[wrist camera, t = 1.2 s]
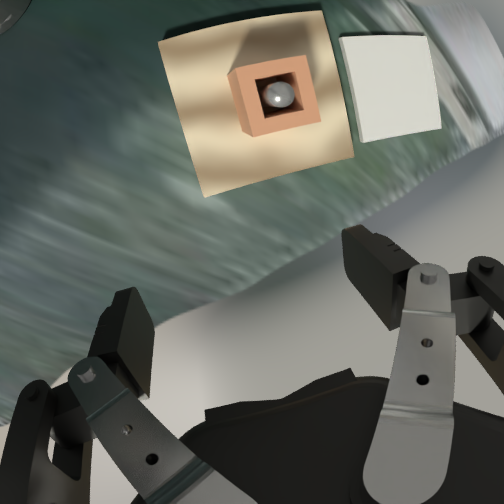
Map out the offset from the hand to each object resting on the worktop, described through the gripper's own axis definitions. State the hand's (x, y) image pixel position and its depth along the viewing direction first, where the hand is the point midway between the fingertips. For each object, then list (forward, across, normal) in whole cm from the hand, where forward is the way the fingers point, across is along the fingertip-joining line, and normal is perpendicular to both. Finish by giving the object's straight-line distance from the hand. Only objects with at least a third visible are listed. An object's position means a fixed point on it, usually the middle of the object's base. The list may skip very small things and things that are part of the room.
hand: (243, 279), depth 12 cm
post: (+20, -6, -6) cm, 22 cm away
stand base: (+22, -6, -6) cm, 24 cm away
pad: (+22, -22, -5) cm, 32 cm away
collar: (+20, -6, -6) cm, 22 cm away
